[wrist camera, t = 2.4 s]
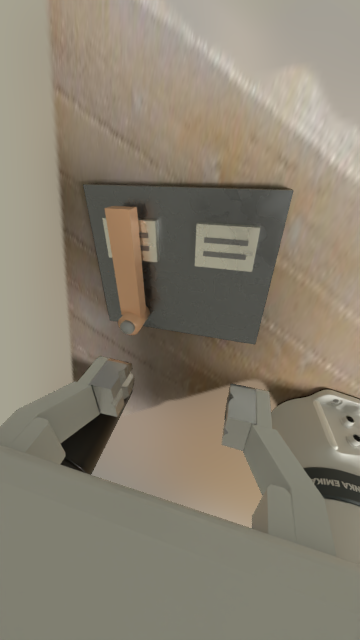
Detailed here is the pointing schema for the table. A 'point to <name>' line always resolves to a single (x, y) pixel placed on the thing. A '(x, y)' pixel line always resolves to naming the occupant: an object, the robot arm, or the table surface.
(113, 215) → the swing bar
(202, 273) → the label panel
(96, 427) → the water bottle
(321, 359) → the table surface
